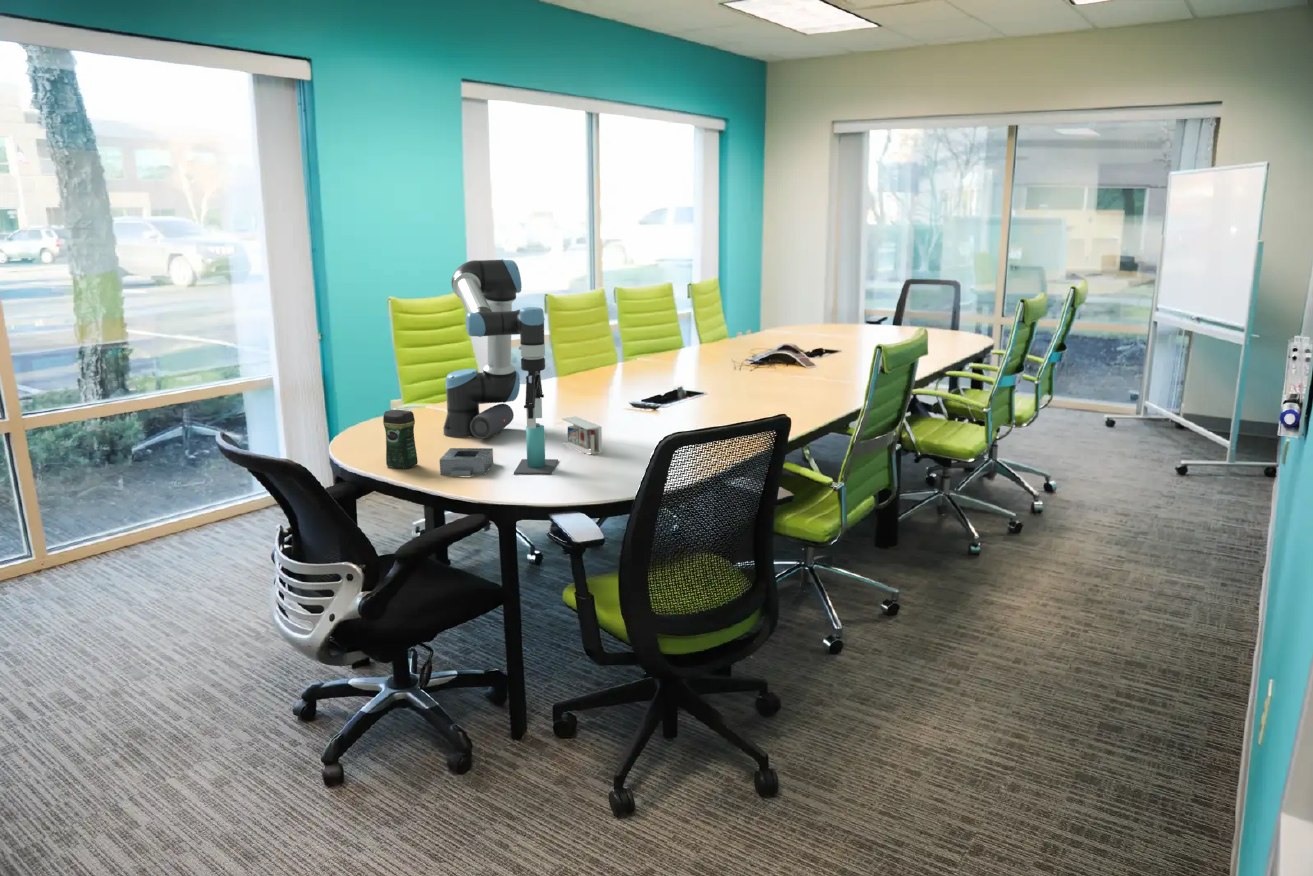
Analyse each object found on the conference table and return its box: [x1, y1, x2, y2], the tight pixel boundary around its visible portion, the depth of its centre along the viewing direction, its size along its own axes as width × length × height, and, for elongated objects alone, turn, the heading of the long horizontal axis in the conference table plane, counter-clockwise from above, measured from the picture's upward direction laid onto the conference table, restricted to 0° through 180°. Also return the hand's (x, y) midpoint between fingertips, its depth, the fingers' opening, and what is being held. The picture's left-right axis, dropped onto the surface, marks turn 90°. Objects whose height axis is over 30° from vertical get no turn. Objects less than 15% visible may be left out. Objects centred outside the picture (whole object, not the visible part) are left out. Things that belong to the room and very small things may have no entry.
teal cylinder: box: [525, 422, 546, 468], centre depth 297 cm, size 6×6×14 cm
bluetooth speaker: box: [470, 403, 514, 439], centre depth 341 cm, size 23×9×10 cm, turn 168°
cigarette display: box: [561, 415, 603, 455], centre depth 322 cm, size 20×6×9 cm, turn 33°
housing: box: [439, 447, 494, 477], centre depth 297 cm, size 19×14×5 cm
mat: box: [513, 458, 559, 476], centre depth 299 cm, size 16×12×1 cm
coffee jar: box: [382, 409, 419, 469], centre depth 299 cm, size 10×8×19 cm
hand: (534, 422), depth 296 cm, fingers open, 13 cm apart
